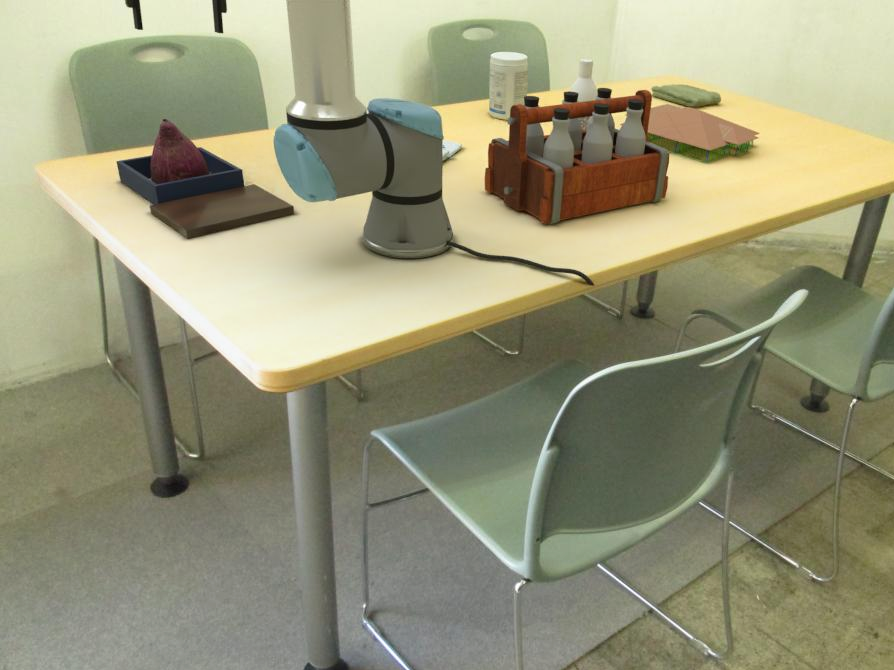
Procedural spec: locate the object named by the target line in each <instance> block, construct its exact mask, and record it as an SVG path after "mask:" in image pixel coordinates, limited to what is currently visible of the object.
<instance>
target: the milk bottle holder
mask: <svg viewBox="0 0 894 670" xmlns="http://www.w3.org/2000/svg"><path fill="white" fill-rule="evenodd" d="M612 92H613V89H611V88H608V87H598V88H597V93H598V96H596V100H593V101H585V102H578V101H577V99H578V95H579V93H576V92H570V90H568V91H564V92H563V99H562V100H561V104H551V105H545V106H540V105H539V102H540V97H539V96H535V95H527V96H525V97H524V105H522V104H518V105H513V106H512V107H511V109H510V117H509V118H508V120H506V121H507V122H506V123H507V125H509V127H508V130H509V131H508V140H507V139H504V138H503V137H497V138H492V140H491V141H490V143H488V149H487V166H488V167H485V169H484V170H485V171H484V191H486V192H488V193H493V194H495V195H497V196H498V197H500V198H502V199H503V204H504V205H507V206H508V207H510V208H512V209H513V210H515V211H517V212H521V211H525V212H526V213H528V214H530V215H533V216H534V217H536V218H537V219H538V221H539V222H541V224H548V225H553V224H557V223H559V222H560V221H564V220H568V219H572V218H573V219H574V218H577V217H581V216H588V215H593V214H596V213H601V212H606V211H611V210H615V209H620V208H624V207H629V206H634V205H639V204H644V203H648V202H650V203H656V202H660V201H661V200H662V199H666V197H667V191H668V187H669V185H668V184H669V176H668V174H667V173H668V169H669V164H670V152H669V151H668V150H666V147H662V146H661V145H658V144H656V145H655V143H653V142H651V141H649V140H650V137H649V135H648V125H649V117H650V110H651V108H652V101H653V94H652V93H651V91H649V90H648V89H640V90H639V89H638V90H637V91H636V92H635V94H634V95H627V96H626V95H625V96H619V97H612ZM625 112H626V114H627V116H626V119H625V121H624V122H623V123H624V124H623V125H621V127H620V128H619V129H618V128H616V123H615V119H614V117H613V114H618V113H625ZM589 116H590V118H589V120H588V123H587V129H586V130H582V126H581V123H580V120H579V118H582V117H589ZM549 122H550V123H551V122H552V129H551V131H550V133H549V134H546V135H545V134H544V130H543V127H542V124H543V123H544V124H545V123H549Z"/></svg>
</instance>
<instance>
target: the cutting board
mask: <svg viewBox="0 0 894 670" xmlns="http://www.w3.org/2000/svg"><path fill="white" fill-rule="evenodd" d="M149 209H150V214H151V215H153V216H154V217H156V218H157V219H159V220H160V221H161V222H163V223H165V224H166V225H167V226H168V227H170V228H171V229H173V230H174V231H176V232H177V233H178V234H180V235H181V236H183V237H185V238H186V239H192V238H196V237H200V236H205V235H209V234H213V233H217V232H222V231H226V230H230V229H235V228H240V227H244V226H249V225H252V224H256V223H261V222H264V221H269V220H275V219H278V218H283V217H286V216H290V215H291V216H292V215H294V214H295V208H294V205H293V204H291V203H289V202H287V201H286V200H283V199H281V198H279V197H278V196H277V195H275V194H273V193H271V192H269V191H268V190H266V189H264V188H262V187H260V186H259V185H256V184H254V183H251V184H247V185H244V186H243V187H238V188H233V189H228V190H223V191H218V192H213V193H208V194H203V195H198V196H193V197H189V198H184V199H179V200H174V201H169V202H164V203H159V204H150V205H149Z"/></svg>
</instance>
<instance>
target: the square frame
mask: <svg viewBox="0 0 894 670" xmlns="http://www.w3.org/2000/svg"><path fill="white" fill-rule="evenodd" d="M197 148H198V150H199V151H200V152H201V154H202V155H203V157H204V160H205V162H206V164H207V167H208V170H209V175H204V176H198V177H193V178H188V179H182V180H177V181H172V182H167V183H161V184H156V183H155V182H153V181H152V180H151V157H152V154H151V155H146V156H139V157H134V158H128V159H122V160H121V159H120V160H116V166H117V167H116V168H117V171H118V176H119V180H120V183H122V184H123V185H125V187H128V188H129V189H131V190H132V191H133V192H135V193H136V194H138V195H139V196H140V197H142V198H144V199H145V200H147V201H148V202H150V203H151V204H152V205H154V204H159V203H164V202H169V201H174V200H179V199H184V198H189V197H193V196H198V195H203V194H208V193H213V192H218V191H223V190H228V189H233V188H238V187H243V186H245V181H244V180H245V179H244V175H243V174H244V173H243V169H242V168H241V167H238V166H236V165H234V164H232V163H231V162H229V161H227V160H225V159H223V158H221V157H220V156H218V155H216V154H214V153H213V152H211V151H209V150H207V149H205V148H204V147H201V146H199V147H197Z"/></svg>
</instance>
